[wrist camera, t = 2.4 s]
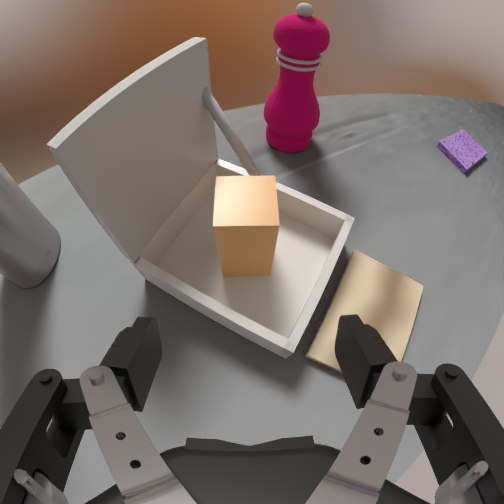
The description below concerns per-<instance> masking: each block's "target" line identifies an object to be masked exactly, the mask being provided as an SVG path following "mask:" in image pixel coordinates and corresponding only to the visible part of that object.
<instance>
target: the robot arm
mask: <svg viewBox="0 0 504 504" xmlns="http://www.w3.org/2000/svg"><path fill="white" fill-rule="evenodd" d="M59 250H60V237H59V234H58V232H57V230H56V229H55V228H54V226H53V225H52V224H51V223H50V222H49V221H48V220H47V219H46V218H45V217H44V215H43V214H42V213H41V212H40V211H39V210H38V208H37V207H36V206H35V205H34V204H33V203H32V202H31V200H30V199H29V198H28V197H27V196H26V194H25V193H24V192H23V191H22V190H21V188H20V187H19V186H18V185H17V183H16V182H15V181H14V180H13V179H12V177H11V176H10V175H9V173H8V172H7V171H6V169H5V168H4V167H3V165H2V164H1V163H0V274H2V275H3V276H5V277H6V278H7V279H9V280H10V281H12V282H14V283H15V284H17V285H18V286H20V287H22V288H32V287H34V286H36V285H38V284H40V283H41V282H42V281H43V280H44V279H45V278H46V277H47V276H48V275H49V273H50V272H51V271H52V269H53V267H54V265H55V263H56V261H57V258H58V254H59ZM161 355H162V348H161V342H160V337H159V332H158V327H157V322H156V319H155V318H154V317H137V319H136V321H135V322H134V324H133V326H132V327H127V328H125V329H124V330H123V331H121V332H120V333H119V334H118V336H117V337H116V339H115V342H113V344H112V345H111V347H110V348H109V350H108V352H107V353H106V355H105V357H104V358H103V360H102V362H101V363H100V365H99V366H94V367H91V368H88V369H87V370H85V371H84V372H83V373H82V374H81V376H80V378H79V379H63V378H62V376H61V374H60V372H59V371H57V370H55V369H45V370H42V371H40V372H38V373H37V374H36V375H35V376H34V377H33V378H32V380H31V381H30V383H29V384H28V386H27V387H26V389H25V390H24V392H23V394H22V395H21V397H20V398H19V400H18V401H17V403H16V405H15V406H14V408H13V409H12V411H11V413H10V414H9V416H8V418H7V419H6V421H5V423H4V424H3V426H2V428H1V430H0V504H68V501H67V499H66V497H65V495H64V494H63V491H64V488H65V484H66V481H67V478H68V475H69V472H70V469H71V466H72V464H73V461H74V458H75V455H76V452H77V450H78V447H79V444H80V441H81V439H82V436H83V434H84V431H85V430H86V429H93V431H94V434H95V436H96V439H97V441H98V444H99V446H100V449H101V451H102V454H103V456H104V458H105V461H106V463H107V465H108V467H109V469H110V471H111V474H112V476H113V478H114V480H115V482H116V484H115V485H114V486H112V487H111V488H109V489H107V490H106V491H104V492H103V493H101V494H100V495H98V496H96V497H95V498H93V499H92V500H90V501H88V502H87V503H85V504H430V503H428V502H426V501H424V500H422V499H420V498H418V497H416V496H415V495H413V494H411V493H409V492H407V491H405V490H404V489H402V488H400V487H398V486H397V485H395V484H393V483H392V482H390V481H388V480H386V477H387V474H388V472H389V470H390V467H391V465H392V462H393V460H394V457H395V455H396V452H397V449H398V447H399V444H400V441H401V438H402V435H403V432H404V429H405V426H406V425H414V426H415V429H416V431H417V433H418V435H419V438H420V440H421V442H422V445H423V447H424V449H425V452H426V454H427V456H428V459H429V461H430V464H431V466H432V469H433V471H434V473H435V476H436V479H437V481H438V484H439V487H438V489H437V491H436V493H435V504H504V429H503V427H502V426H501V424H500V423H499V421H498V420H497V418H496V416H495V415H494V414H493V412H492V410H491V409H490V407H489V406H488V405H487V403H486V402H485V400H484V399H483V397H482V396H481V395H480V393H479V392H478V390H477V389H476V387H475V386H474V385H473V383H472V382H471V380H470V379H469V378H468V376H467V375H466V374H465V372H464V371H463V370H462V369H461V368H460V367H458V366H456V365H453V364H442V365H440V366H438V367H437V369H436V371H435V373H434V374H417V372H416V370H415V369H414V368H413V367H412V366H411V365H409V364H407V363H404V362H398V360H397V359H396V357H395V356H394V354H393V353H392V351H391V350H390V348H389V347H388V346H387V344H385V341H384V340H383V338H381V335H380V334H379V332H378V331H377V330H376V329H375V328H373V327H372V326H370V325H369V324H364V323H363V322H362V320H361V319H360V317H359V316H358V315H357V314H353V315H341V316H340V318H339V322H338V328H337V334H336V340H335V356H336V359H337V361H338V364H339V366H340V369H341V371H342V373H343V376H344V378H345V381H346V383H347V386H348V388H349V391H350V393H351V396H352V398H353V401H354V403H355V406H356V408H357V409H360V408H364V409H363V411H362V413H361V415H360V417H359V419H358V421H357V423H356V425H355V427H354V429H353V430H352V432H351V434H350V436H349V438H348V440H347V441H346V443H345V445H344V447H343V448H342V450H341V451H340V450H338V449H335V448H333V447H329V446H326V445H320V444H314V440H313V436H304V437H293V438H281V439H278V440H274V441H270V442H266V443H262V444H258V445H253V446H246V445H241V444H236V443H231V442H226V441H222V440H218V439H198V438H187V439H186V445H185V446H181V447H176V448H173V449H169V450H167V451H164V452H162V453H160V454H159V453H158V451H157V450H156V448H155V447H154V445H153V443H152V442H151V440H150V438H149V437H148V435H147V433H146V432H145V430H144V428H143V427H142V425H141V423H140V421H139V420H138V418H137V416H136V414H135V413H134V411H140V412H142V411H143V408H144V405H145V402H146V399H147V397H148V394H149V391H150V388H151V385H152V382H153V379H154V377H155V374H156V371H157V368H158V366H159V363H160V360H161ZM447 413H448V415H449V416H450V418H451V420H452V422H453V427H452V425H451V423H450V421H449V419H448V417H447V416H446V415H447ZM51 418H52V419H53V421H52V423H51V425H50V427H49V429H48V431H47V433H46V429H47V426H48V424H49V422H50V420H51Z"/></svg>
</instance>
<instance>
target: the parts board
mask: <svg viewBox="0 0 504 504" xmlns="http://www.w3.org/2000/svg"><path fill="white" fill-rule="evenodd" d="M422 290H423V285H421V284H419V283H417V282H416V281H414V280H412V279H410V278H408V277H406V276H404V275H402V274H401V273H399V272H397V271H395V270H393V269H391V268H389V267H387V266H385V265H383V264H382V263H380V262H378V261H376V260H374V259H372V258H370V257H368V256H366V255H364V254H362V253H360V252H358V251H356V250H354V251H353V252H352V254H351V256H350V258H349V261H348V263H347V266H346V268H345V271H344V273H343V275H342V278H341V280H340V283H339V285H338V287H337V290H336V292H335V294H334V296H333V299H332V301H331V303H330V305H329V308H328V310H327V312H326V314H325V316H324V319H323V321H322V323H321V325H320V327H319V329H318V331H317V333H316V335H315V337H314V340H313V342H312V344H311V346H310V348H309V350H308V352H307V354H306V356H305V357H307V358H310V359H312V360H314V361H316V362H318V363H320V364H322V365H324V366H326V367H329V368H331V369H333V370H335V371H337V372H339V373H342V371H341V369H340V366H339V364H338V361H337V359H336V356H335V340H336V334H337V328H338V322H339V318H340V316H341V315H353V314H357V315H358V316H359V317H360V319H361V320H362V322H363V323H364V324H369V325H370V326H372V327H373V328H375V329H376V330H377V331H378V332H379V334H380V335H381V338H383V340H384V341H385V344H387V346H388V347H389V348H390V350H391V351H392V353H393V354H394V356H395V357H396V359H397V360H398V362H401V360H402V358H403V355H404V352H405V349H406V346H407V343H408V340H409V337H410V334H411V330H412V327H413V324H414V320H415V317H416V313H417V310H418V306H419V302H420V298H421V294H422ZM342 374H343V373H342Z"/></svg>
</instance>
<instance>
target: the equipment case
mask: <svg viewBox="0 0 504 504" xmlns="http://www.w3.org/2000/svg"><path fill="white" fill-rule="evenodd" d="M214 120H215V121H216V123H217V125H218V126H219V128H220V129H221V131H222V132H223V134H224V136H225V137H226V139H227V140H228V142H229V143H230V145H231V147H232V148H233V150H234V151H235V153H236V155H237V156H238V158H239V159H240V161H241V163H242V164H243V166H244V168H245V169H243V168H241V167H238V166H236V165H233V164H231V163H228V162H226V161H223V160H220V159H218V155H217V145H216V136H215V126H214ZM47 146H48V148H49V149H50V151H51V152H52V154H53V156H54V157H55V159H56V161H57V162H58V164H59V165H60V167H61V168H62V170H63V172H64V173H65V175H66V176H67V178H68V179H69V181H70V182H71V184H72V185H73V187H74V188H75V190H76V191H77V193H78V194H79V196H80V197H81V198H82V200H83V201H84V203H85V204H86V206H87V207H88V208H89V210H90V211H91V213H92V214H93V215H94V217H95V218H96V219H97V221H98V222H99V224H100V225H101V226H102V228H103V229H104V230H105V232H106V233H107V234H108V236H109V237H110V238H111V239H112V241H113V242H114V243H115V245H116V246H117V247H118V248H119V250H120V251H121V252H122V253H123V255H124V256H125V257H126V258H128V259H129V260H130V261H131V262H132V263H133V265H134V266H135V267H136V268H137V269H138V271H139V272H140V273H141V274H142V276H143V277H144V278H145V279H146V280H148V281H150V282H151V283H153V284H154V285H156V286H157V287H159V288H161V289H162V290H164V291H165V292H167V293H169V294H170V295H172V296H173V297H175V298H177V299H178V300H180V301H182V302H183V303H185V304H187V305H188V306H190V307H192V308H193V309H195V310H197V311H199V312H200V313H202V314H204V315H205V316H207V317H209V318H211V319H212V320H214V321H216V322H218V323H219V324H221V325H223V326H225V327H227V328H228V329H230V330H232V331H234V332H236V333H237V334H239V335H241V336H243V337H245V338H247V339H249V340H250V341H252V342H254V343H256V344H258V345H260V346H262V347H264V348H266V349H268V350H270V351H271V352H273V353H275V354H277V355H279V356H281V357H283V358H285V359H286V358H287V357H289V356H290V355H291V354H292V353H293V352H294V351H295V349H296V347H297V345H298V343H299V341H300V339H301V337H302V335H303V333H304V331H305V329H306V327H307V325H308V323H309V321H310V319H311V317H312V315H313V312H314V310H315V308H316V306H317V304H318V302H319V300H320V298H321V295H322V293H323V291H324V289H325V287H326V285H327V282H328V280H329V278H330V276H331V273H332V271H333V269H334V267H335V264H336V262H337V260H338V257H339V255H340V253H341V250H342V248H343V246H344V243H345V241H346V238H347V236H348V233H349V231H350V228H351V226H352V223H353V221H354V217H352V216H350V215H347V214H345V213H343V212H341V211H339V210H337V209H335V208H333V207H331V206H329V205H327V204H324V203H322V202H320V201H318V200H316V199H314V198H311V197H309V196H307V195H305V194H303V193H300V192H298V191H296V190H294V189H291V188H289V187H287V186H284V185H282V184H280V183H277V182H276V190H277V201H278V212H279V224H280V226H279V232H278V237H277V243H276V248H275V253H274V259H273V264H272V269H271V275H270V276H232V277H223V275H222V270H221V265H220V260H219V255H218V250H217V245H216V240H215V235H214V230H213V214H214V198H215V183H216V176H261V174H260V173H259V171H258V169H257V167H256V166H255V164H254V162H253V161H252V159H251V157H250V156H249V154H248V152H247V150H246V149H245V147H244V145H243V144H242V142H241V141H240V139H239V137H238V136H237V134H236V132H235V131H234V129H233V127H232V126H231V124H230V123H229V121H228V119H227V118H226V116H225V114H224V113H223V111H222V110H221V108H220V106H219V105H218V103H217V102H216V100H215V99H214V97H213V95H212V94H211V83H210V72H209V59H208V47H207V38H199V37H194V38H192V39H190V40H188V41H186V42H184V43H182V44H180V45H178V46H177V47H175V48H173V49H171V50H170V51H168V52H166V53H164V54H163V55H161V56H159V57H158V58H156V59H154V60H153V61H151V62H150V63H148V64H146V65H145V66H143V67H142V68H140V69H138V70H137V71H136V72H134V73H133V74H131V75H130V76H128V77H127V78H125V79H124V80H122V81H121V82H119V83H118V84H117V85H115V86H114V87H113V88H111V89H110V90H109V91H107V92H106V93H105V94H103V95H102V96H101V97H100V98H98V99H97V100H96V101H94V102H93V103H92V104H91V105H89V106H88V107H87V108H86V109H85V110H83V111H82V112H81V113H80V114H79V115H78V116H76V118H74V119H73V120H72V121H71V122H70V123H68V124H67V125H66V126H65V127H64V128H63V129H62V130H61V131H60V132H59V133H58V134H57V135H56V136H55V137H53V139H51V140H50V141H49V142H48V143H47Z"/></svg>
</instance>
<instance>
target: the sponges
mask: <svg viewBox="0 0 504 504" xmlns="http://www.w3.org/2000/svg"><path fill="white" fill-rule="evenodd" d="M436 146H437V147H438V148H439V149H440V150H441V151H442V152H443V153H444V154H445V155H446V156H447V157H448V158H449V159H450V160H451V161H452V162H453V163H454V164H455V165H456V166H457V167H458V168H459V169H460V170H461V171H462V172H463V173H465V172H466V171H468V170H469V169H470V168H472V167H473V166H474V165H475V164H477V163H478V162H479V161H480V160H481V159H483V158H484V157H485V156H486V155H487V152H486V151H485V150H484V149H483V148H482V147H481V146H480V145H479V144H478V143H476V142H475V141H474V140H473V139H472V137H470V136H469V134H468V133H467V132H465V131H464V130H461V131H460V132H458V133H456V134H454V135H451V137H450V136H449V137H447V138H445V139H442V140H440V141H439V143H438V144H437V145H436Z"/></svg>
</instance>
